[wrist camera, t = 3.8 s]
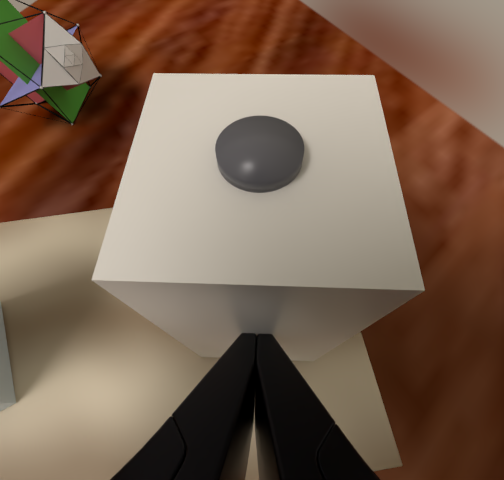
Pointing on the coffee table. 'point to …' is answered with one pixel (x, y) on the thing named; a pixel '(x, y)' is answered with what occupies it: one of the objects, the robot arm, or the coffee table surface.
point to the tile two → (5, 370)
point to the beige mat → (123, 365)
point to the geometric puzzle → (44, 62)
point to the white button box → (260, 213)
